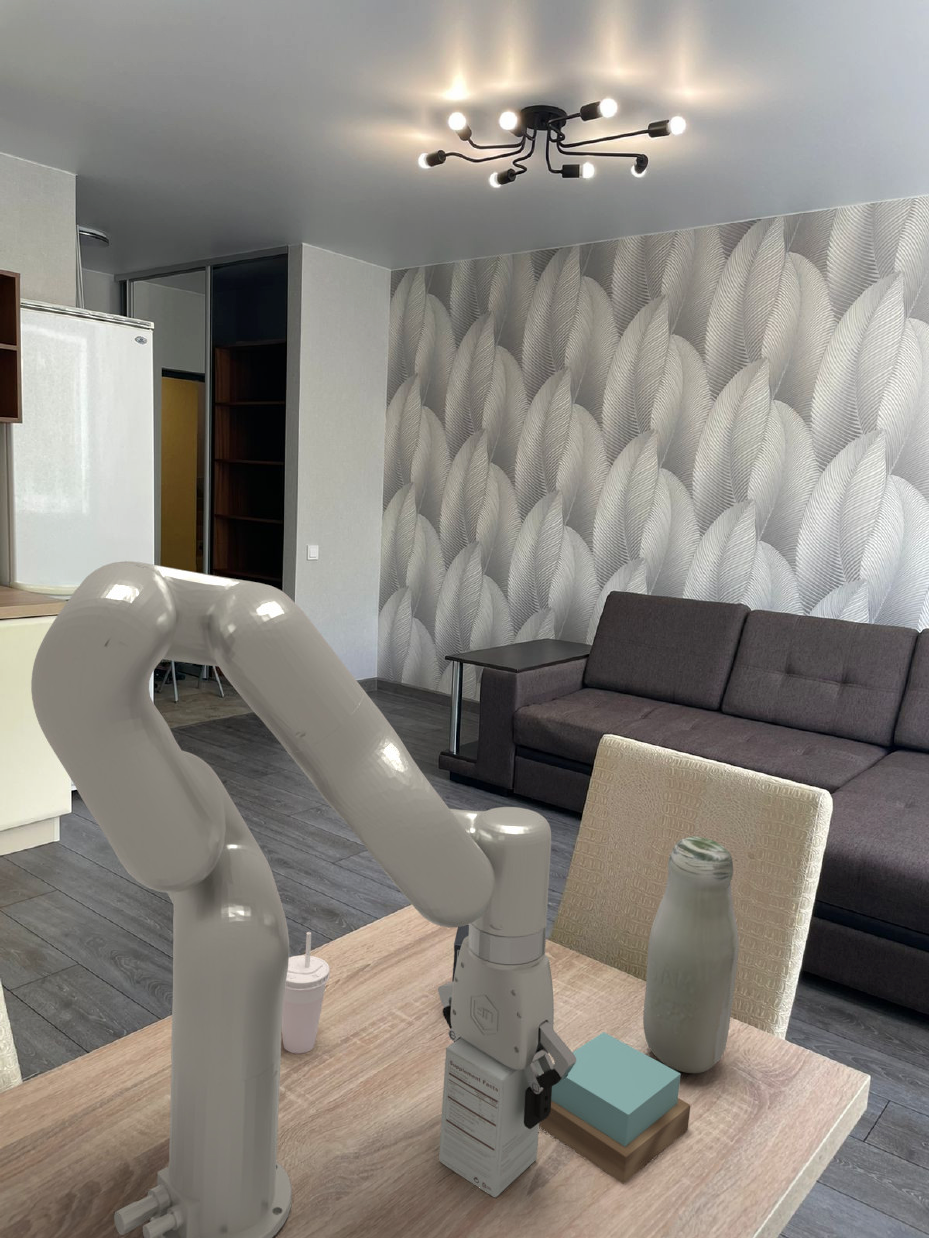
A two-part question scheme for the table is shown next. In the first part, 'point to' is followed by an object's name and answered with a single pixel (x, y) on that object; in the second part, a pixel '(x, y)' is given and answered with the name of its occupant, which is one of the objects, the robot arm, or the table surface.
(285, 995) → the smoothie
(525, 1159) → the supplement box
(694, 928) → the glass bottle
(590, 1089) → the tower top
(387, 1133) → the table surface
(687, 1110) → the tower base
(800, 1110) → the table surface
